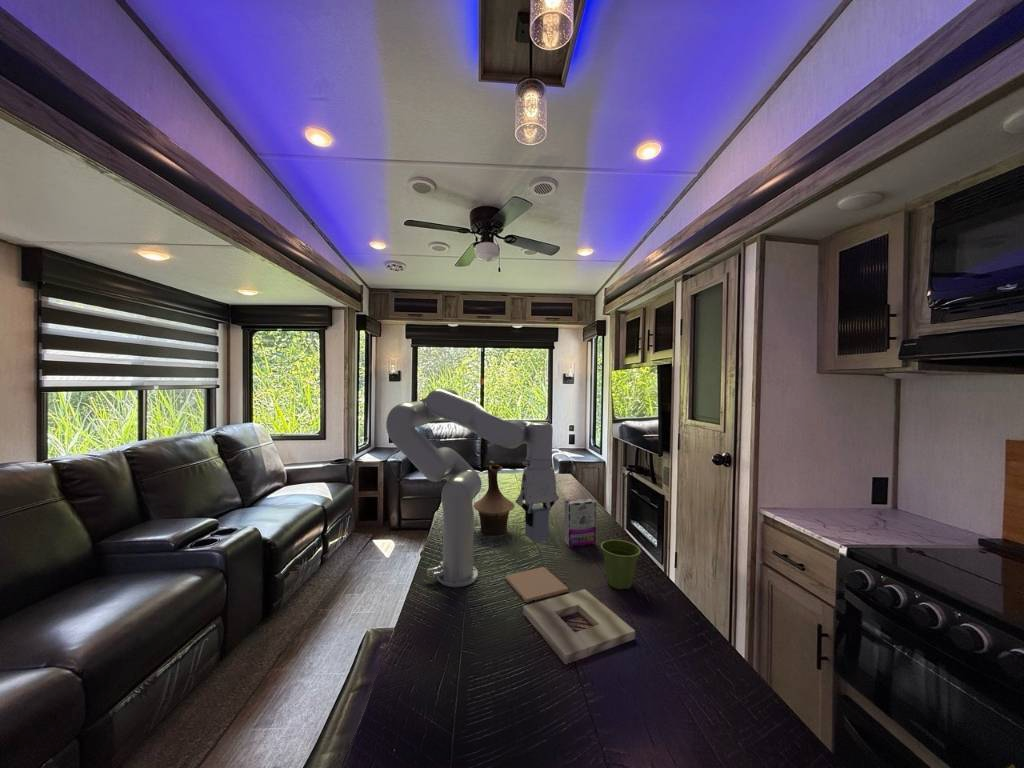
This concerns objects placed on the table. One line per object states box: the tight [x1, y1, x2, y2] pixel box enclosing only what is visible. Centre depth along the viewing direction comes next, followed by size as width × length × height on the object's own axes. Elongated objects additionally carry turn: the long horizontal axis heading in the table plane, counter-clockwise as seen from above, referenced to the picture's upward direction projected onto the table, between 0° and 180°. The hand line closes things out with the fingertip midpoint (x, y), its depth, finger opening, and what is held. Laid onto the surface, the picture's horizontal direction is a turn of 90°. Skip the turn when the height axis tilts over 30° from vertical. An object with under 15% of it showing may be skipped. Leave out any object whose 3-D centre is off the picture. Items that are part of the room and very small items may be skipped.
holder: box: [522, 588, 636, 665], centre depth 97 cm, size 20×20×2 cm
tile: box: [504, 566, 569, 603], centre depth 115 cm, size 14×14×1 cm
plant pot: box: [600, 539, 642, 590], centre depth 117 cm, size 12×12×11 cm
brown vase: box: [473, 460, 516, 536], centre depth 157 cm, size 18×17×28 cm
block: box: [524, 503, 550, 544], centre depth 115 cm, size 4×6×9 cm
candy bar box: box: [564, 497, 597, 548], centre depth 146 cm, size 11×5×16 cm, turn 105°
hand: (536, 523), depth 115 cm, fingers closed on block, 4 cm apart
